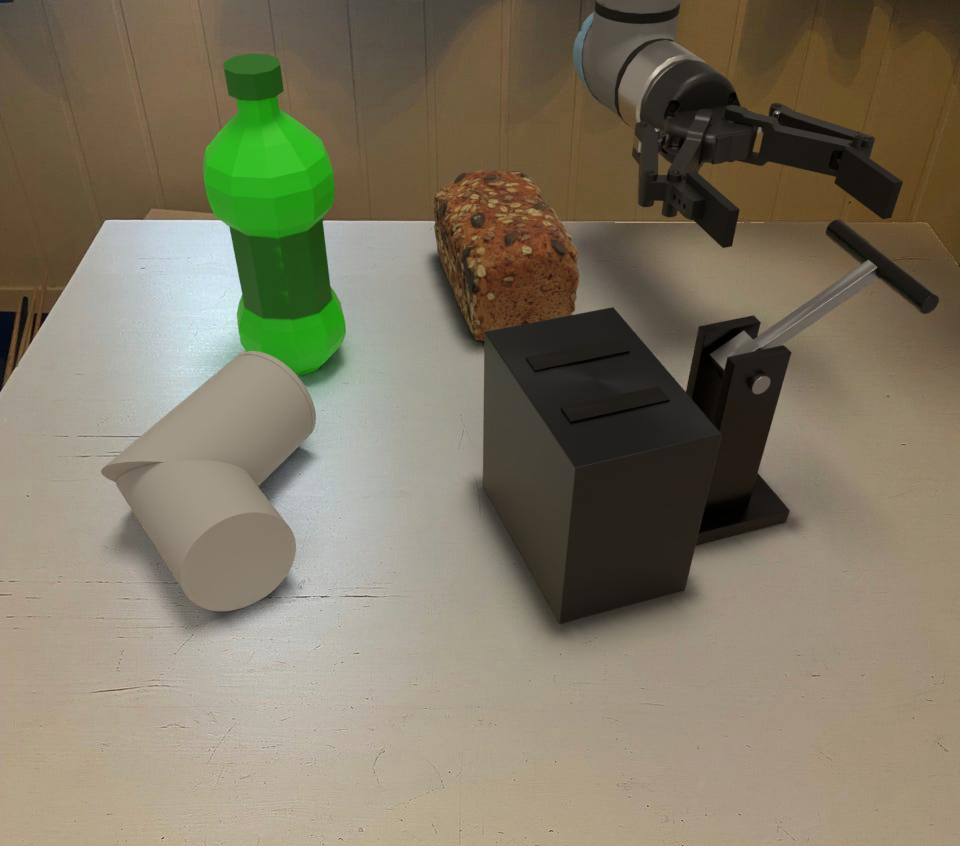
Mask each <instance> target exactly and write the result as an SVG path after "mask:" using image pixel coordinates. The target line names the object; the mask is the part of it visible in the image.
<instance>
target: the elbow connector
mask: <svg viewBox="0 0 960 846" xmlns="http://www.w3.org/2000/svg"><path fill="white" fill-rule="evenodd" d="M316 421H317V414H316V407H315V404H314V401H313V398H312V395H311V394H310V392H309V390H308V388H307V387H306V386H305V383H304V382H303V381H302V380H301V379H300V376H297V375H296V374H295V373H294V372H293V371H292V370H291V369H290V368H289V367H288V366H287V365H285V364H284V363H283V362H281V361H280V360H278V359H276V358H275V357H273V356H271V355H268V354H266V353H262V352H257V351H247V352H246V351H243V352H240V353H238V355H236V356H234V358H233V359H231V360H230V361H228V362H227V363H226V364H225V365H223V367H222V368H221V369H219V370H218V371H217V372H216V373H214V374H213V375H212V376H211V377H210V378H208V379H207V380H206V381H205V382H204V383H203V384H201V385H200V386H199V387H198V388H197V389H195V390H194V391H193V392H192V393H190V394H189V395H188V396H187V397H185V398H184V399H183V400H182V401H181V402H180V403H179V404H178V405H176V406H175V407H174V408H172V410H170V411H169V412H168V413H166V414H165V415H164V416H163V417H162V418H161V419H159V420H158V421H157V422H156V423H155V424H153V425H152V426H151V427H150V428H149V429H148V430H146V431H145V432H144V433H142V434H141V435H140V436H139V437H137V439H136V440H134V441H133V442H131V444H130V445H129V446H127V447H126V448H125V449H123V450H122V451H121V452H120V453H119V454H118V455H116V456H114V458H113V459H112V460H111V461H109V462H108V463H107V464H105V466H103V467H102V468H101V470H100V473H101V475H102V476H103V477H104V478H106V479H108V480H109V481H112V482H113V483H115V485H116V487H117V489H118V490H119V492H120V493H121V495H122V497H123V499H124V500H125V501H126V503H127V504H128V506H129V508H130V509H131V511H132V512H133V514H134V516H135V517H136V519H137V521H138V522H139V524H140V525H141V526H142V528H143V530H144V532H145V533H146V534H147V537H149V539H150V541H151V542H152V544H153V546H154V547H155V549H156V550H157V552H158V553H159V555H160V557H161V558H162V561H164V563H165V564H166V566H167V568H168V569H169V571H170V573H171V574H172V575H173V577H174V579H175V580H176V582H177V583H178V585H179V586H180V588H181V590H182V591H183V593H184V594H185V596H186V597H187V598H188V599H189V601H191V602H192V603H193V604H194V605H196V606H197V607H199V608H202V609H204V610H208V611H211V612H212V611H213V612H232V611H236V610H240V609H244V608H247V607H249V606H251V605H252V606H253V604H255V603H257V602H259V601H262V600H263V599H264V598H266V597H267V596H269V595H270V594H271V593H272V592H273V591H275V590H276V589H277V588H278V587H279V586H280V584H282V582H283V581H284V580H285V578H286V577H287V576H288V573H289V572H290V570H291V568H292V566H293V564H294V561H295V559H296V558H295V557H296V552H297V542H296V538H295V535H294V532H293V530H292V528H291V527H290V525H289V524H288V523H287V522H286V520H285V519H284V518H283V516H282V515H281V514H280V513H279V511H278V510H277V509H276V507H275V506H274V504H272V502H271V501H270V499H269V498H267V496H266V495H265V494H264V492H263V491H262V490H261V488H260V487H259V486H261V485H262V484H263V482H265V480H267V478H268V477H270V475H271V474H273V473H274V472H275V471H276V470H277V469H278V468H279V466H281V465H282V464H283V463H284V462H285V461H286V460H287V459H288V458H289V457H290V456H291V455H292V454H293V453H294V452H295V451H296V450H297V449H298V448H299V447H300V446H301V445H302V444H303V443H304V442H305V441H306V440H307V439H308V438H309V437H310V436H311V435H312V433H313V431H314V429H315V426H316Z"/></svg>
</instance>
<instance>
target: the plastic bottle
mask: <svg viewBox="0 0 960 846" xmlns="http://www.w3.org/2000/svg"><path fill="white" fill-rule="evenodd" d="M222 64H223V71H224V77H225V83H226V88H227V89H226V90H227V95H228V96H229V97H232V98H234V99H236V100H235V101H236V106H237V112H236V114H235V115H233V117H232V118H231V119H230V120H229V121H228V122H226V124H225V125H224V126H223V127H222V128H221V130H219V132H218V133H217V134H216V136H215V137H214V138H213V139H212V141H210V143H209V144H208V145H207V147H206V148H205V151H204V156H203V163H202V170H203V171H202V172H203V182H204V188H205V193H206V198H207V201H208V204H209V206H210V208H211V211H212V213H213V215H214V217H215V218H217V219H218V220H220V221H221V222H222V223H223V224H225V225H226V226H228V228H229V233H230V237H231V243H232V247H233V252H234V259H235V264H236V268H237V269H236V270H237V275H238V281H239V284H240V289H241V296H240V299H239V302H238V306H237V310H236V320H237V329H238V335H239V341H240V344H241V346H242V347H243V349H244V350H245V352H247V351H257V352H262V353H266V354H268V355H271V356H273V357H275V358H276V359H278V360H280V361H281V362H283V363H284V364H285V365H287V366H288V367H289V368H290V369H291V370H292V371H293V372H294V373H295V374H296V375H297V376H298V377H301V376H304V375H307V374H310V373H313V372H317V371H318V370H319V369H320V368H321V367H322V366H323V365H324V364H325V363H326V362H327V361H328V360H329V359H330V358H331V357H332V356H333V355H334V353H336V352H337V350H338V349H340V347H341V346H342V344H343V343H344V340H345V336H346V333H347V327H346V326H347V325H346V320H345V319H346V318H345V315H344V311H343V307H342V303H341V300H340V299H339V297H338V295H337V294H336V292H335V290H334V289H333V288H332V286H331V279H330V271H329V264H328V263H329V262H328V254H327V245H326V237H325V228H324V220H323V218H324V217H325V215H326V214H327V213H328V212H329V210H330V209H331V208H332V207H333V206H334V200H335V191H336V190H335V189H336V187H335V178H334V170H333V167H332V163H331V160H330V156H329V153H328V151H327V149H326V147H325V144H324V143H323V141H322V139H321V138H320V137H319V136H317V135H316V134H315V133H314V132H313V131H311V130H310V129H309V128H307V127H306V126H305V125H304V124H302V123H301V122H300V121H298V120H297V119H295V118H294V117H292V116H291V115H290V114H288V113H286V112H284V111H283V110H282V109H281V108H280V104H279V97H278V96H279V95H281V94H282V93H284V91H285V90H284V82H283V75H282V74H283V73H282V66H281V62H280V59H279V58H278V57H276V56H273V55H270V54H268V53H245V54H244V53H243V54H239V55H234V56H231V57H229V58H228V59H226V60H224V61H223V62H222Z"/></svg>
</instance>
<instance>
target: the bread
mask: <svg viewBox="0 0 960 846" xmlns="http://www.w3.org/2000/svg"><path fill="white" fill-rule="evenodd" d="M432 203H433V205H432V210H433V211H432V213H433V217H434V225H433V230H434V235H435V241H436V250H437V251H436V252H437V255H438V257H439V261H440V264H441V265H442V268H443V272H444V274H445V276H446V279H447V281H448V285H449V287H450V289H451V290H452V293H453V295H454V297H455V300H456V303H457V306H458V307H460V311H461V315H462V317H463V318H464V321H465V324H466V325H467V327H468V329H469V331H470V333H471V334H472V336H473V338H474V340H476V341H482V342H484V335H485V332H486V331H491V330H497V329H502V328H507V327H512V326H517V325H523V324H528V323H533V322H538V321H543V320H549V319H554V318H559V317H564V316H570V315H573V313H574V312H575V311H576V304H575V302H576V301H577V291H578V287H579V284H580V271H579V268H578V264H579V262H578V258H579V250H578V248H577V246H576V245H575V244H574V243H573V242H572V240H573V237H572V235H571V234H569V233H568V232H567V229H566V226H565V225H564V224H563V221H562V220H561V218H560V217H559V216H558V215H557V214H556V210H554V208H553V207H551V206H550V205H549V204H547V202H546V200H545V199H544V197H543V195H542V192H541V190H540V187H538V186H537V183H536V181H535V180H534V178H533V177H531V176H529V175H528V174H526V173H524V172H523V171H520V170H504V169H503V170H486V169H485V170H477V171H470V172H461V173H460V174H459V175H457V176H456V178H455V179H454V180H452V181H450V183H448V184H446V185H444V186H442V187H440V189H439V191H437V193H436V194H434V198H433V202H432Z"/></svg>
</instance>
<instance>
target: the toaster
mask: <svg viewBox="0 0 960 846" xmlns="http://www.w3.org/2000/svg"><path fill="white" fill-rule="evenodd" d="M483 342H484V343H483V344H484V345H483V347H484V348H483V361H484V362H483V427H482V428H483V429H482V431H483V432H482V434H483V435H482V436H483V437H482V439H483V440H482V488H483V489H484V491H485V493H486V494H487V497H488V498H489V500H490V502H491V503H492V505H493V507H494V509H495V510H496V512H497V514H498V516H499V518H500V520H501V522H502V523H503V525H504V526H505V529H506V530H507V532H508V534H509V536H510V538H511V540H512V541H513V543H514V545H515V546H516V548H517V550H518V552H519V553H520V555H521V557H522V559H523V560H524V563H525V564H526V566H527V568H528V570H529V571H530V573H531V575H532V576H533V578H534V580H535V582H536V584H537V585H538V587H539V589H540V591H541V592H542V595H543V596H544V598H545V600H546V601H547V604H548V605H549V607H550V609H551V611H552V612H553V614H554V616H555V619H556V620H557V621H558V623H559V624H565V623H568V622H571V621H575V620H579V619H582V618H586V617H591V616H594V615H599V614H601V613H605V612H609V611H613V610H616V609H619V608H624V607H627V606H631V605H634V604H638V603H642V602H646V601H649V600H654V599H657V598H661V597H665V596H668V595H671V594H675V593H680V592H683V591H685V590H686V587H687V583H688V579H689V575H690V571H691V568H692V567H691V566H692V562H693V558H694V554H695V551H696V550H695V549H696V546H697V545H696V542H697V537H698V533H699V529H700V525H701V521H702V516H703V512H704V508H705V504H706V500H707V495H708V491H709V487H710V483H711V478H712V474H713V470H714V466H715V462H716V457H717V453H718V449H719V445H720V440H721V436H722V434H721V433H720V432H719V430H718V429H717V428H716V427H715V426H714V425H713V423H712V422H711V421H710V420H709V419H708V417H707V416H706V415H705V414H704V413H703V412H702V410H701V409H700V408H699V407H698V406H697V405H696V403H695V402H694V401H693V400H692V399H691V398H690V396H689V395H688V394H687V393H686V390H685V389H684V388H683V387H682V386H681V384H680V383H679V382H678V381H677V380H676V379H675V377H673V375H672V374H671V372H669V370H668V369H667V368H666V367H665V366H664V364H662V362H661V361H660V360H659V359H658V358H657V356H656V355H655V354H654V353H653V352H652V351H651V349H650V348H649V347H648V346H647V345H646V343H645V342H644V341H643V340H642V339H641V338H640V336H639V335H638V334H637V333H636V332H635V331H634V329H633V328H632V327H631V325H629V324H628V322H627V321H626V320H625V319H624V318H623V317H622V315H621V314H620V313H619V312H618V311H617V310H616V309H615V307H614V306H612V307H607V308H601V309H596V310H591V311H586V312H580V313H576V314H571V315H570V316H564V317H559V318H554V319H549V320H543V321H538V322H533V323H528V324H523V325H517V326H512V327H507V328H502V329H497V330H491V331H486V332H485V335H484V341H483Z"/></svg>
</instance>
